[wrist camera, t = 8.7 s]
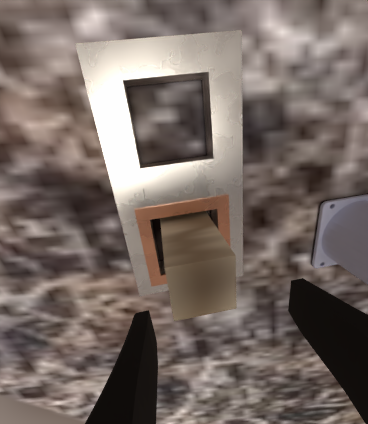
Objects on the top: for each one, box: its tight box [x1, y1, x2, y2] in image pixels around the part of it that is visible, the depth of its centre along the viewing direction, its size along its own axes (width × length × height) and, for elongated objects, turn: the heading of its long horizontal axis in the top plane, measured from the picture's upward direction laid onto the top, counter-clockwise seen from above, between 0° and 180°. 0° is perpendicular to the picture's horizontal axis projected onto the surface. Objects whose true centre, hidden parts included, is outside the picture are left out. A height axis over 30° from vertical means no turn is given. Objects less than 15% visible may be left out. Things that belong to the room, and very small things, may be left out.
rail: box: [75, 30, 243, 296], centre depth 17 cm, size 10×19×2 cm, turn 7°
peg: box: [160, 211, 236, 321], centre depth 16 cm, size 4×4×8 cm
